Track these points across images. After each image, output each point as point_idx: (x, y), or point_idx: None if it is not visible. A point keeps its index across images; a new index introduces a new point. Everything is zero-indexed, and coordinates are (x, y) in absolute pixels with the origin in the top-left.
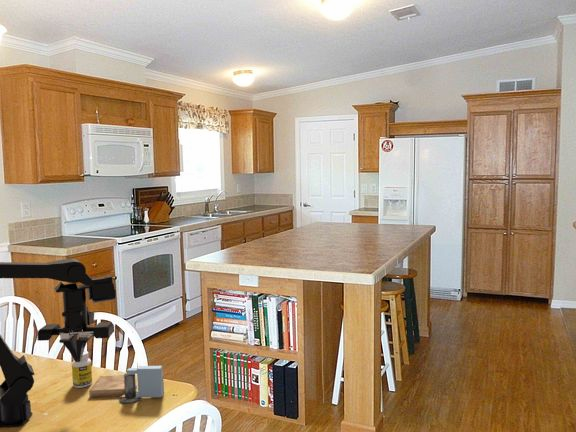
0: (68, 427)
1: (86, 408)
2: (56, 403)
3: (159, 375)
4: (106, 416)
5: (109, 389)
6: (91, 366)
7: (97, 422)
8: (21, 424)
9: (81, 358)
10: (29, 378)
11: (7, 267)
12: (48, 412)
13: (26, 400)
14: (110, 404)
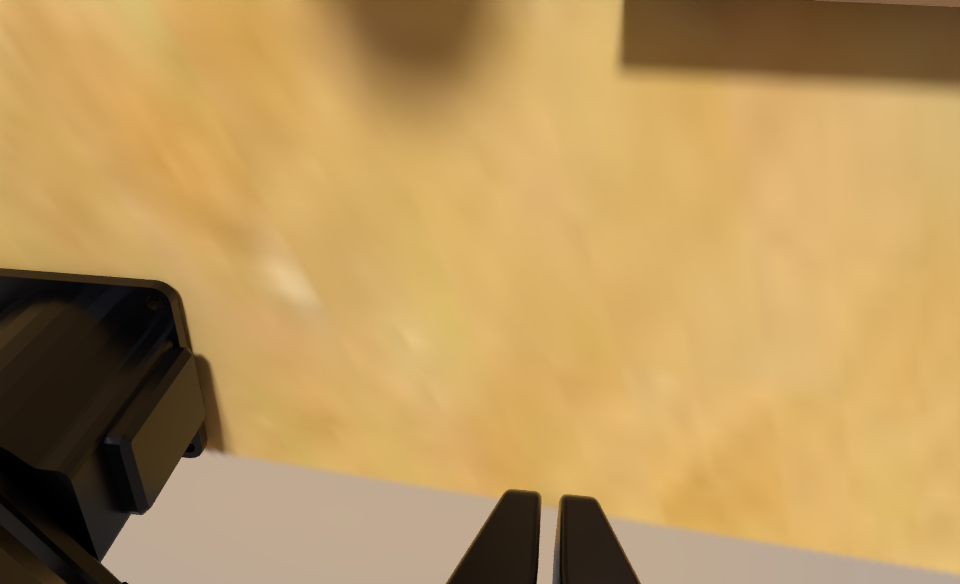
0: None
1: (649, 248)
2: (281, 83)
3: None
4: (864, 419)
5: (929, 3)
6: None
7: (792, 489)
8: (202, 449)
9: (613, 541)
10: None
11: None
12: (300, 266)
13: (105, 474)
14: (901, 202)
